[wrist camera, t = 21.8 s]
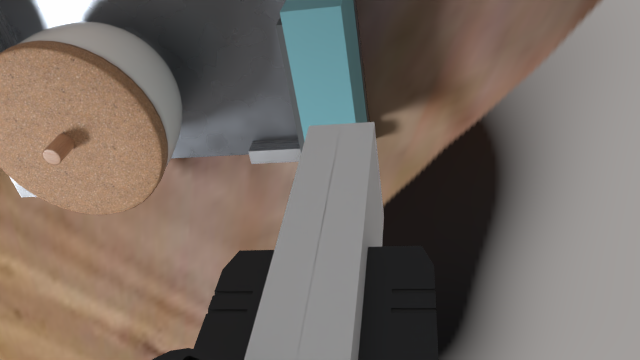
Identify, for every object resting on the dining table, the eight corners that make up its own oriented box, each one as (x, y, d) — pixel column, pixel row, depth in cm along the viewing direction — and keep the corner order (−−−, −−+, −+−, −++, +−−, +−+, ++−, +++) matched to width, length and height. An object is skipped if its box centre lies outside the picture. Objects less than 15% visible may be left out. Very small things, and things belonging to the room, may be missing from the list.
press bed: (57, 156, 43) (21, 197, 39) (-28, -14, 36) (-83, 14, 32) (371, 139, 39) (366, 183, 35) (348, -61, 31) (339, -34, 27)
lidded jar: (197, 162, 40) (147, 253, 33) (50, 123, 40) (-34, 206, 33) (213, 22, 34) (155, 96, 27) (37, -26, 34) (-70, 36, 26)
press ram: (313, 134, 37) (301, 178, 33) (286, -19, 32) (267, 13, 28) (368, 131, 37) (362, 176, 33) (350, -26, 31) (340, 6, 27)
